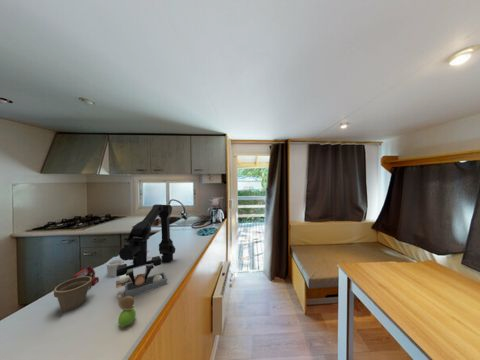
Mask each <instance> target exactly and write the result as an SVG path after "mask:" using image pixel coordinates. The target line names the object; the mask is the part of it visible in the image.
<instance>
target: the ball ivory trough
mask: <svg viewBox="0 0 480 360" xmlns="http://www.w3.org/2000/svg"><path fill="white" fill-rule="evenodd" d="M157 274H158V275H156V274H155V275H156V276H154V278H153V281H152V283H154V282H157V281H160V280H163V279H162V276H161V275H159V273H157Z"/></svg>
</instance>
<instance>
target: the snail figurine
mask: <svg viewBox="0 0 480 360" xmlns="http://www.w3.org/2000/svg"><path fill="white" fill-rule="evenodd" d="M120 293H121V292H120V291H118V292H117V293H116V295H117V297H116V299H117V305H118V307H119V308H120V310H122V311H121V312H120V314H119V316H118V319H117V321H118V325H119V326H120V327H124V328H125V327H127V326H130V325H131V324H132V323H133V321H134V320H135V319H136V316H137V313H136V310H135V309H134V308H135V306H134V305H135V298H134V296H127V297H123V299H122V294H121V295H120Z"/></svg>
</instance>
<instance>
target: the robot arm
mask: <svg viewBox="0 0 480 360" xmlns="http://www.w3.org/2000/svg"><path fill="white" fill-rule="evenodd" d="M172 212H173V206H172V205H171V204H157V203H156V204H153V205H152V208H151V209H150V211H149V212H148V213H147V215H145V217H144V218H143V219H142V220H141V221H139V222H138V223H136V224H135V225H134V226H133V227H132V228H131V230H130V233H129V235H128V237H127V239H126V243H125V244H124V245H123V247H122V248H121V249H120V250H119V255H118V256H119V259H122V260H124V262H125V261H126V262H127V261H132V264H130V265H128V264H127V263H124V264H123V265H118V266H117V271H116V276H115V277H120V276H122V275H125V274H126V276H128V275H129V278H131V280H132V282H133V284H134V285H135V280H134V276H135V275H134V269H139V268H142V267H145V272H144V273H145V281H146V279H147V277H149V276H150V273H151V271H152V270H153V269H154V268H155V267H158V266H161V265H162V264H165V263H166V264H168V263H171V262H172V261H173V262H174V254H175V253H176V247H175V246H174V242H173V240H172V238H171V232H170V231H171V229H170V216H171V215H172ZM158 217H159V218H160V225H161V226H160V227H161V241H160V243H159V244H158V251H159V255H156V256H152V257H151V259H150V260H148V261H147V259H148V254H147V250H148V240H149V239H150V237H149V235H150V234H151V231H152V225H153V223H154V222H155V221H156V219H157V218H158ZM160 255H161V256H160Z"/></svg>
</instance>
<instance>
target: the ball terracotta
mask: <svg viewBox="0 0 480 360" xmlns="http://www.w3.org/2000/svg"><path fill="white" fill-rule="evenodd" d="M136 276H137V275H136ZM144 281H145V277H144V276H143V275H139V276H137V277H136V278H135V285H138V286H137V287H140V286H142V285H144V284H143V283H144ZM141 284H142V285H141Z"/></svg>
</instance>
